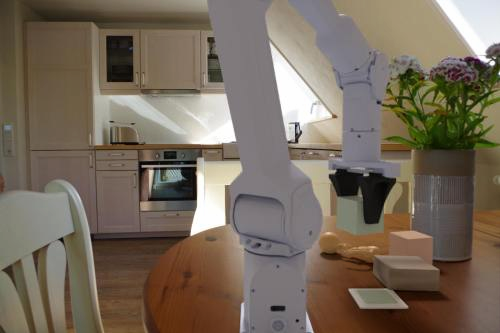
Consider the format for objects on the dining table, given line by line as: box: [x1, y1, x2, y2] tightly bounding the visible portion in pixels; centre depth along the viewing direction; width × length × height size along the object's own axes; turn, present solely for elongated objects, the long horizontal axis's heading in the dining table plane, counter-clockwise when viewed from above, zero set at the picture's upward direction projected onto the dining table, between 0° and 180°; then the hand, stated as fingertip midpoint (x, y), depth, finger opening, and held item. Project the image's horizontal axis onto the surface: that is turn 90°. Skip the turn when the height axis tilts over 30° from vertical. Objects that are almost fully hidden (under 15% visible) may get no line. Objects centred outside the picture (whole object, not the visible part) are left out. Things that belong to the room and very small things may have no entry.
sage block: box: [336, 194, 385, 236], centre depth 60 cm, size 5×5×5 cm
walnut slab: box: [372, 254, 441, 292], centre depth 58 cm, size 7×7×3 cm
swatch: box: [348, 288, 409, 310], centre depth 52 cm, size 6×6×1 cm
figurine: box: [318, 231, 382, 263], centre depth 70 cm, size 8×6×12 cm
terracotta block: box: [388, 230, 434, 265], centre depth 68 cm, size 5×5×5 cm
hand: (359, 220), depth 60 cm, fingers closed on sage block, 5 cm apart
